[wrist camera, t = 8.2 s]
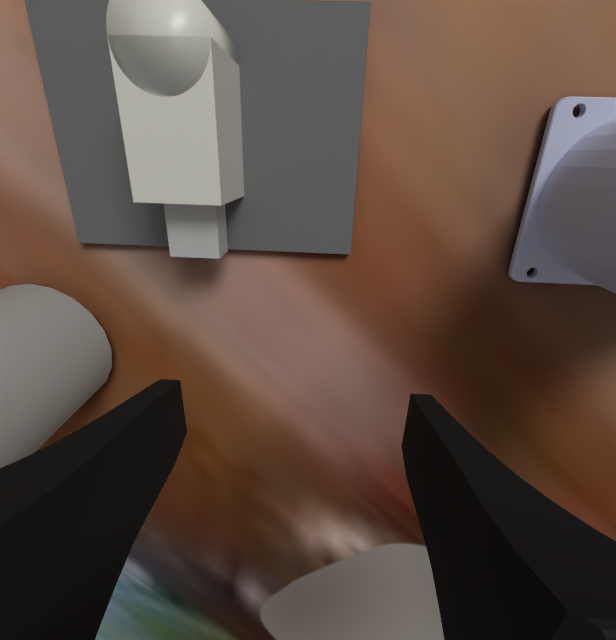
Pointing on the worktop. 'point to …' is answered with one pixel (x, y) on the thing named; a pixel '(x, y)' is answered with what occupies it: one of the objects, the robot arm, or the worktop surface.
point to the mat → (256, 117)
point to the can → (45, 365)
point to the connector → (179, 116)
